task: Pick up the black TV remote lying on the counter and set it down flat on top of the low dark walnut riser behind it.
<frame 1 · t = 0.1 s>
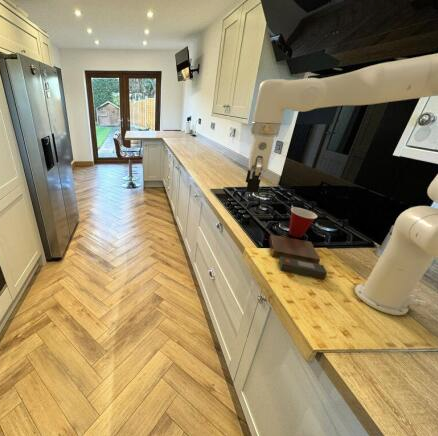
hand: (251, 186, 74), 31 cm above the worktop, tool pointing down, fingers open, 9 cm apart
plastic cup: (295, 235, 112), on the worktop
riser: (291, 252, 98), on the worktop
remote: (300, 270, 87), on the worktop
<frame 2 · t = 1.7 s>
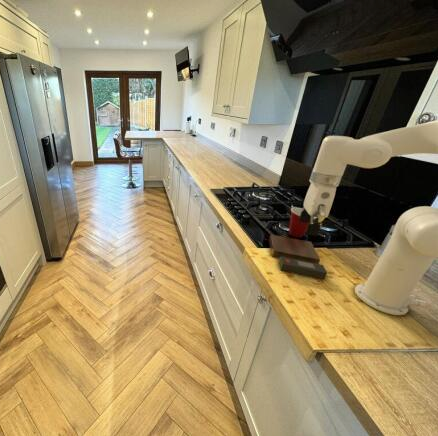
hand: (306, 228, 79), 18 cm above the worktop, tool pointing down, fingers open, 9 cm apart
nothing on the worktop moved.
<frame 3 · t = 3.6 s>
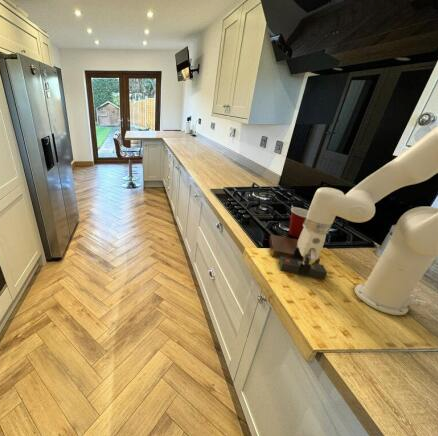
hand: (299, 265, 86), 2 cm above the worktop, tool pointing down, fingers open, 9 cm apart
nothing on the worktop moved.
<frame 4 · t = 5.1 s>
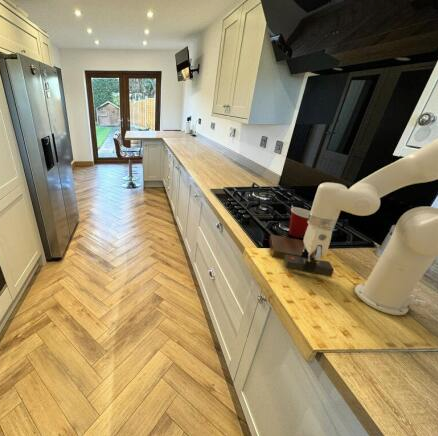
hand: (306, 265, 85), 3 cm above the worktop, tool pointing down, fingers closed on remote, 5 cm apart
remote: (306, 268, 85), point 2 cm above the worktop, touching gripper
everything else where it was.
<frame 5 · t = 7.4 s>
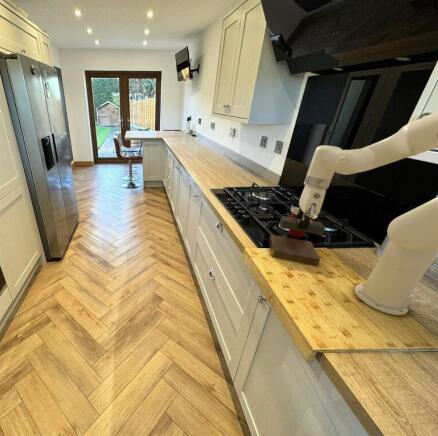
hand: (300, 225, 92), 13 cm above the worktop, tool pointing down, fingers closed on remote, 5 cm apart
remote: (299, 228, 93), point 11 cm above the worktop, touching gripper
everything else where it was.
when the fingers open (4 cm above the worktop, at t = 9.7 s): remote stays where it is, resting on riser.
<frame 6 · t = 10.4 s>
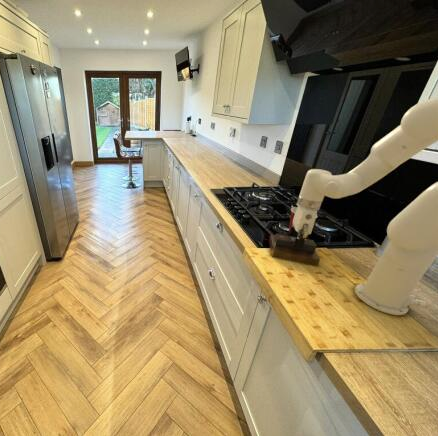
hand: (295, 241, 96), 5 cm above the worktop, tool pointing down, fingers open, 9 cm apart
remote: (293, 245, 97), point 3 cm above the worktop, touching riser
everything else where it was.
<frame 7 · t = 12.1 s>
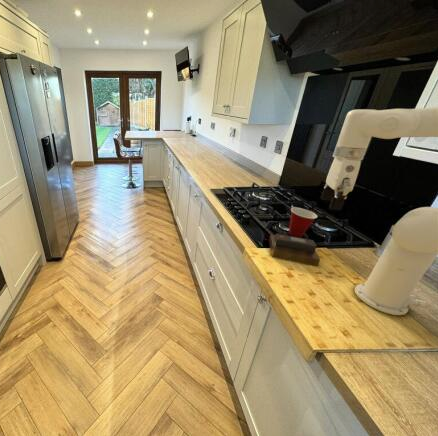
hand: (330, 204, 80), 25 cm above the worktop, tool pointing down, fingers open, 9 cm apart
nothing on the worktop moved.
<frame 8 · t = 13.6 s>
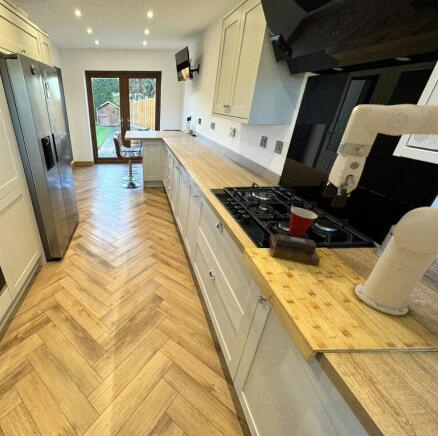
hand: (332, 201, 79), 26 cm above the worktop, tool pointing down, fingers open, 9 cm apart
nothing on the worktop moved.
at the end: remote inside the target area on the riser (0.1 cm from its centre), point 3.0 cm above the riser's base; remote tilted 0°; the gripper is holding nothing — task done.
